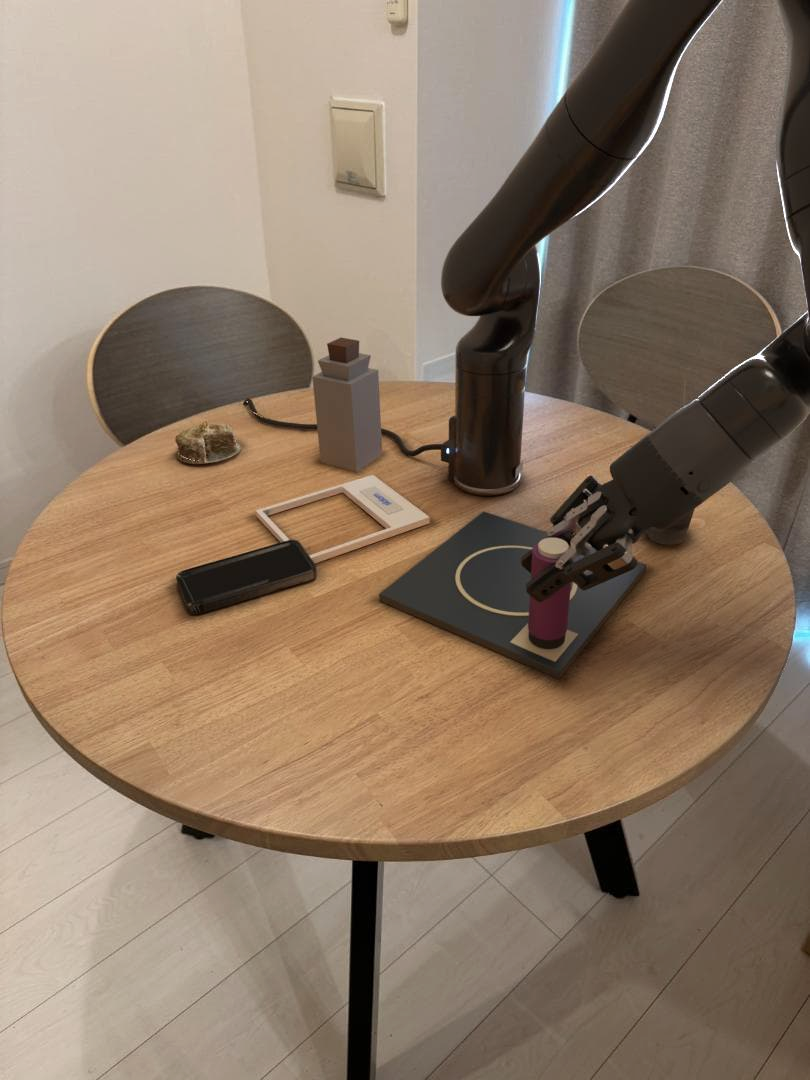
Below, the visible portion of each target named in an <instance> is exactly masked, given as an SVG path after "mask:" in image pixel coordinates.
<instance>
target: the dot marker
mask: <svg viewBox="0 0 810 1080" xmlns="http://www.w3.org/2000/svg"><path fill="white" fill-rule="evenodd" d="M570 547H571V546H570V545H568V543H567V542H566V541H564V540H562V539H559V538H545V539H543V540H541V541H540V542H539V543H537V544H536V545H535V546H534V547H533V549H532V566H531V580H532V579H533V578H534V577H535V576H537V575H538V574H539V573H541V572H542V571H543V570H544V569H546V568H547V567H548V566H550V565H551V564H552V563H555V564H556V562H557V560H558V559H559V558H560V557H561V556H562V555H563V554H564V553H565V552H566V551H567V550H568V549H569V548H570ZM572 563H573V561H572ZM570 590H571V582H570V583H568V584H566V585H565V586H564V587H562V588H561V589H560V590H558V591H557V592H555V593H554V594H553V595H551V596H550V597H549V598H548V599H546V600H544V601H542V602H538V601H536V600H535V599H534V598H533V597H531V596H530V602H529V619H528V629H529V640H530V641H531V643H532V644H534V645H535V646H537V647H539V648H543V649H554V648H557V647H560V646H561V645H562V644H563V643H564V641H565V633H566V632H567V623H568V612H569V601H570Z"/></svg>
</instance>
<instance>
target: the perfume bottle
mask: <svg viewBox="0 0 810 1080" xmlns="http://www.w3.org/2000/svg"><path fill="white" fill-rule="evenodd" d="M326 346H327V352H328V355H326V356H324V357H322V358H319V359H318V360H317V363H318V365H319V367H320V370H321V372H319V373H317V374H315V375H312V377H311V378H312V390H313V397H314V408H315V417H316V418H315V419H316V424H317V429H316V430H317V436H318V437H317V438H318V439H317V441H318V448H319V459H320V463H321V464H326V465H328V466H329V465H330V466H333V467H337V468H341V469H344V470H348V471H352V472H354V473H358V472H359V471H361V470H362V469H363V468H365V467H367V466H368V465H369V464H371V463H373V462H374V461H375V460H377V459H379V458H380V457H381V456H383V440H382V434H381V428H382V421H381V420H382V419H381V399H380V380H379V379H380V378H379V369H375V368H371V367H369V365H370V361H371V356H372V355H371V354H366V353H361V352H360V340H359V339H352V338H346V337H339V338H336V339H334V340H332V341H330V342H327V343H326Z"/></svg>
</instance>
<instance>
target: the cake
mask: <svg viewBox="0 0 810 1080" xmlns="http://www.w3.org/2000/svg"><path fill="white" fill-rule="evenodd" d="M174 441H175V443H176V445H177V453H176V459H177V460H178V461H180V462H183V463H185V464H186V463H187V464H192V465H204V464H210V463H211V464H213V463H218V462H221V461H224V460H227V459H229V458H232V457H234V456H235V455H237V454H239V453H240V452H241V450H242V446H241V444H239V442H238V441H237V435H236V434H235V431H234V428H233V427H232V426H231V425H229V423H218V422H216V423H214V422H209V423H208V421H203V422H202V423H201V424H197V425H194V426H190V427H188V428H185V429H182V431H181V432H180V433H179V434H176V435H175V437H174ZM178 450H179V451H178ZM178 452H179V453H180V454H179V455H178ZM180 455H182V456H184V457H186V458H188V459H186V458H183V457H181V456H180ZM189 459H191V460H189ZM193 460H195V461H193ZM198 460H199V461H198Z"/></svg>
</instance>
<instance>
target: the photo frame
mask: <svg viewBox="0 0 810 1080" xmlns="http://www.w3.org/2000/svg"><path fill="white" fill-rule="evenodd" d="M339 494H344V495H345V496H346V497H348V498H349V499H350V500H351V501H352V502H354V503H355V504H356V505H357V506H358V507H360V508H361V509H362V510H364V512H366V513H367V514H368V515H369V516H370V517H372V518H373V519H374V520H375V521H377V522H378V523H379V525H381V526H382V527H383V528H384V529H382V530H378V531H376V532H374V533H370V534H368V535H364V536H362V537H359V538H356V539H353V540H350V541H346V542H344V543H341V544H338V545H336V546H333V547H329V548H327V549H324V550H320V551H318V552H315V553H313V554H308V555H309V556H310V558H311V559H312V561H313V562H314V563H315V564H318V563H321V562H323V561H326V560H329V559H332V558H334V557H338V556H340V555H343V554H346V553H349V552H352V551H354V550H355V551H356V550H357V549H360V548H364V547H366V546H369V545H371V544H374V543H377V542H380V541H382V540H386V539H389V538H392V537H394V536H397V535H400V534H403V533H406V532H408V531H411V530H414V529H417V528H420V527H423V526H426V525H429V524H430V520H431V519H430V516H429V515H428V514H427V513H425V512H424V511H422V510H421V509H420V508H418V507H417V506H416V505H414V504H412V503H411V502H410V501H409V500H408V499H406V498H405V497H404V496H402V495H401V494H399V493H398V492H397V491H395V490H394V489H393V488H392V487H390V486H389V485H388V484H386V483H385V482H383V481H382V480H381V479H380V478H378V477H377V476H375V475H374V474H370V475H367V476H364V477H361V478H358V479H355V480H350V481H347V482H345V483H341V484H337V485H333V486H330V487H328V488H324V489H321V490H318V491H315V492H311V493H308V494H306V495H305V494H304V495H302V496H298V497H296V498H292V499H289V500H285V501H283V502H282V501H281V502H279V503H275V504H272V505H269V506H266V507H261V508H259V509H256V510H255V517H256V518H257V519H258V520H259V521H260V522H261V523H262V524H263V525H264V526H265V527H266V528H267V530H269V532H270V533H271V534H272V535H273V536H274V537H275V538H276V539H277V541H278V542H279V543H281V542H284V541H288V540H290V538H288V536H287V535H286V534H285V533H284V532H283V531H282V530H281V529H280V528H279V527H278V526H277V525H276V524H275V522H273V521H272V519H270V517H269V516H271V515H274V514H277V513H281V512H284V511H287V510H290V509H294V508H296V507H301V506H303V505H307V504H309V503H313V502H316V501H319V500H323V499H327V498H329V497H332V496H335V495H339Z"/></svg>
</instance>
